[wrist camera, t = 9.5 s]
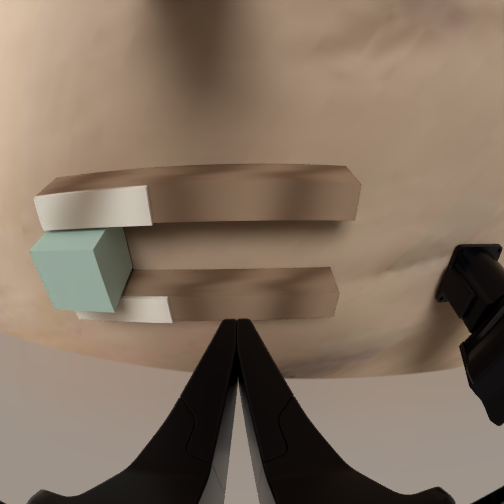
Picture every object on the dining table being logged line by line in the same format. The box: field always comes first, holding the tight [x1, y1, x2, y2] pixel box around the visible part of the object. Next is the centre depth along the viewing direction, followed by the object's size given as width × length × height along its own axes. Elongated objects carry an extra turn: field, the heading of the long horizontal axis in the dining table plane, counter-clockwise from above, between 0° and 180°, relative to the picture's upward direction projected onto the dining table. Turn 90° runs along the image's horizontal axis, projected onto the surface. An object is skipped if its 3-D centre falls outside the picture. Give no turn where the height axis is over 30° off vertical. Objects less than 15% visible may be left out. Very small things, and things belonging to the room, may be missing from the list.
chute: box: [33, 164, 361, 323], centre depth 21 cm, size 20×11×3 cm, turn 90°
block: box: [29, 227, 133, 313], centre depth 20 cm, size 5×5×5 cm
